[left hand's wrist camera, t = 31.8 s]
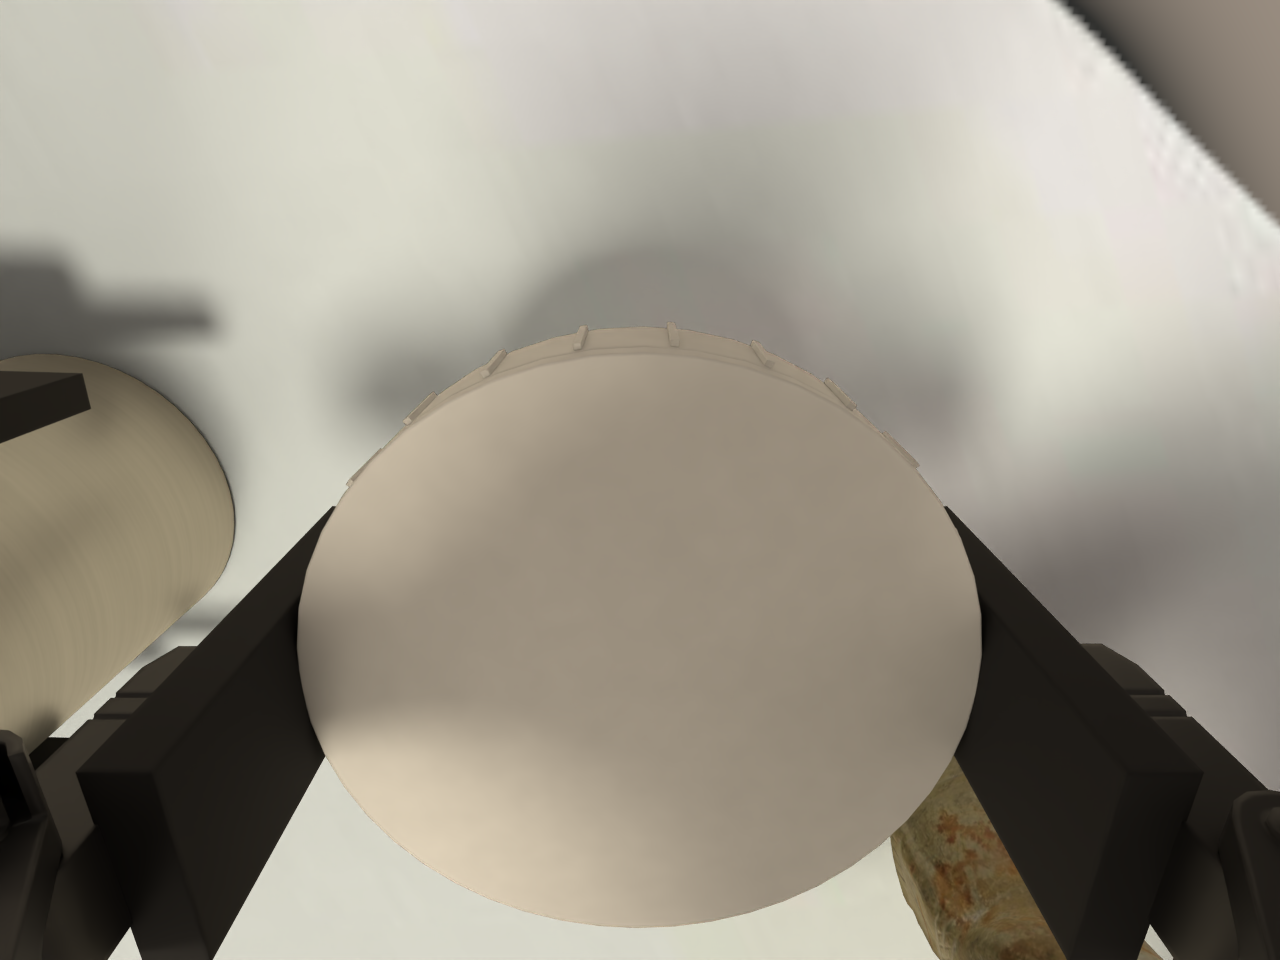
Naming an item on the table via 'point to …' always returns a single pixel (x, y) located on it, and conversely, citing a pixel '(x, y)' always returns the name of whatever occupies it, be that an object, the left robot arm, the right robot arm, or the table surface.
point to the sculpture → (969, 881)
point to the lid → (639, 631)
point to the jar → (99, 541)
